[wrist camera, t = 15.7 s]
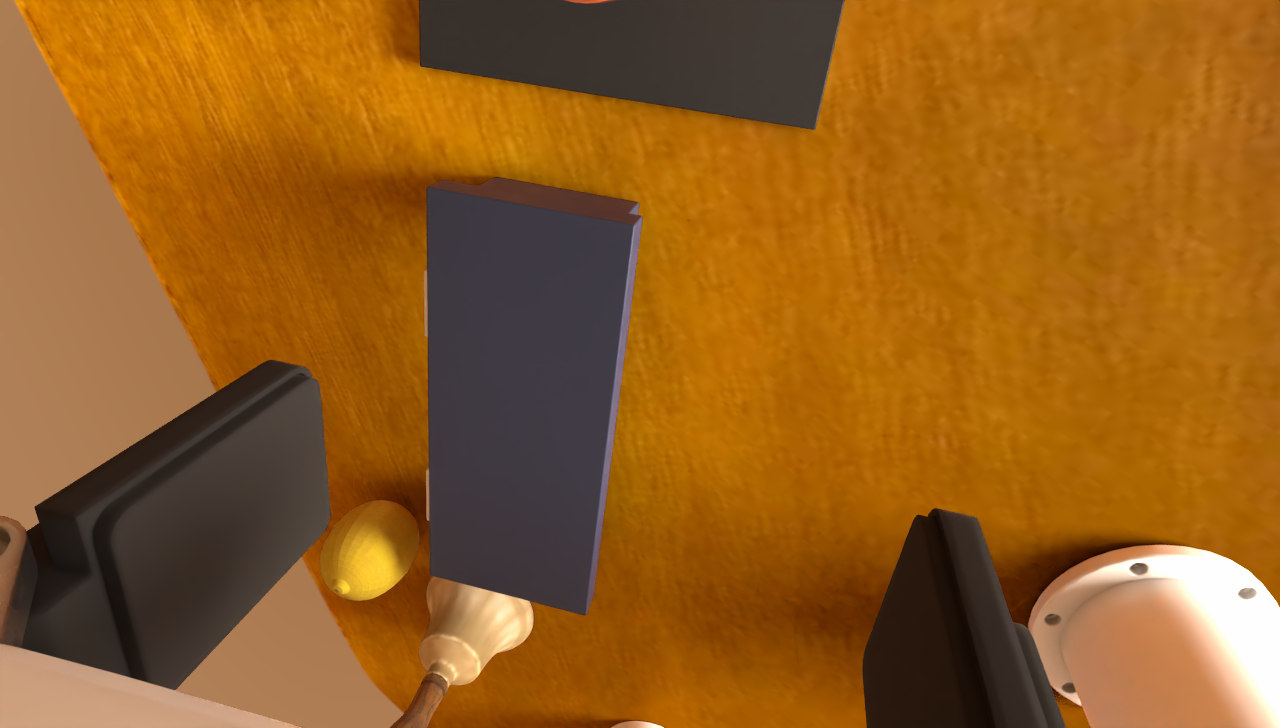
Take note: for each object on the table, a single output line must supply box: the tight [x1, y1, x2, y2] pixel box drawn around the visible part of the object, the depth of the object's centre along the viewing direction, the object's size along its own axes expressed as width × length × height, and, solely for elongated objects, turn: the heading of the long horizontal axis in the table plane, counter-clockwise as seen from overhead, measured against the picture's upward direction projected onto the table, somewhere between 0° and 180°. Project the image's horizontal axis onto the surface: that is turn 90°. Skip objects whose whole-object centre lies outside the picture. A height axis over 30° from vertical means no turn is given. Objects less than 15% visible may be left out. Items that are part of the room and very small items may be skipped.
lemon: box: [320, 500, 420, 601], centre depth 47 cm, size 6×6×8 cm
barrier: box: [424, 177, 642, 615], centre depth 41 cm, size 10×24×6 cm, turn 173°
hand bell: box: [390, 576, 534, 728], centre depth 46 cm, size 8×8×16 cm
